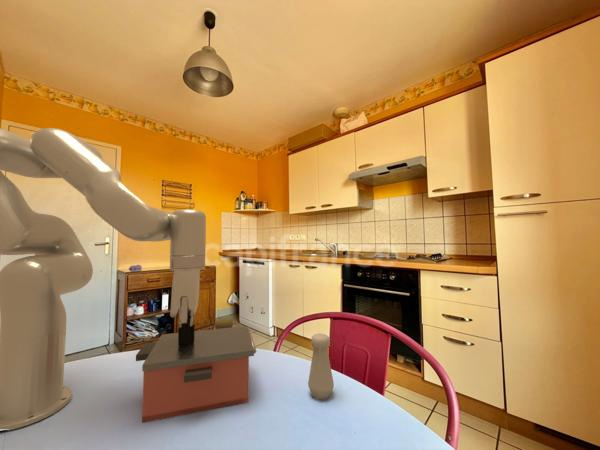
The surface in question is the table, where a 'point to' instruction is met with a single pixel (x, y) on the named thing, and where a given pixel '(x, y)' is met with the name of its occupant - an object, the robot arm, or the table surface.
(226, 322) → the cork
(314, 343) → the salt shaker
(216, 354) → the grey box lid
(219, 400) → the orange wooden open box
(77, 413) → the table surface
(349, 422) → the table surface
